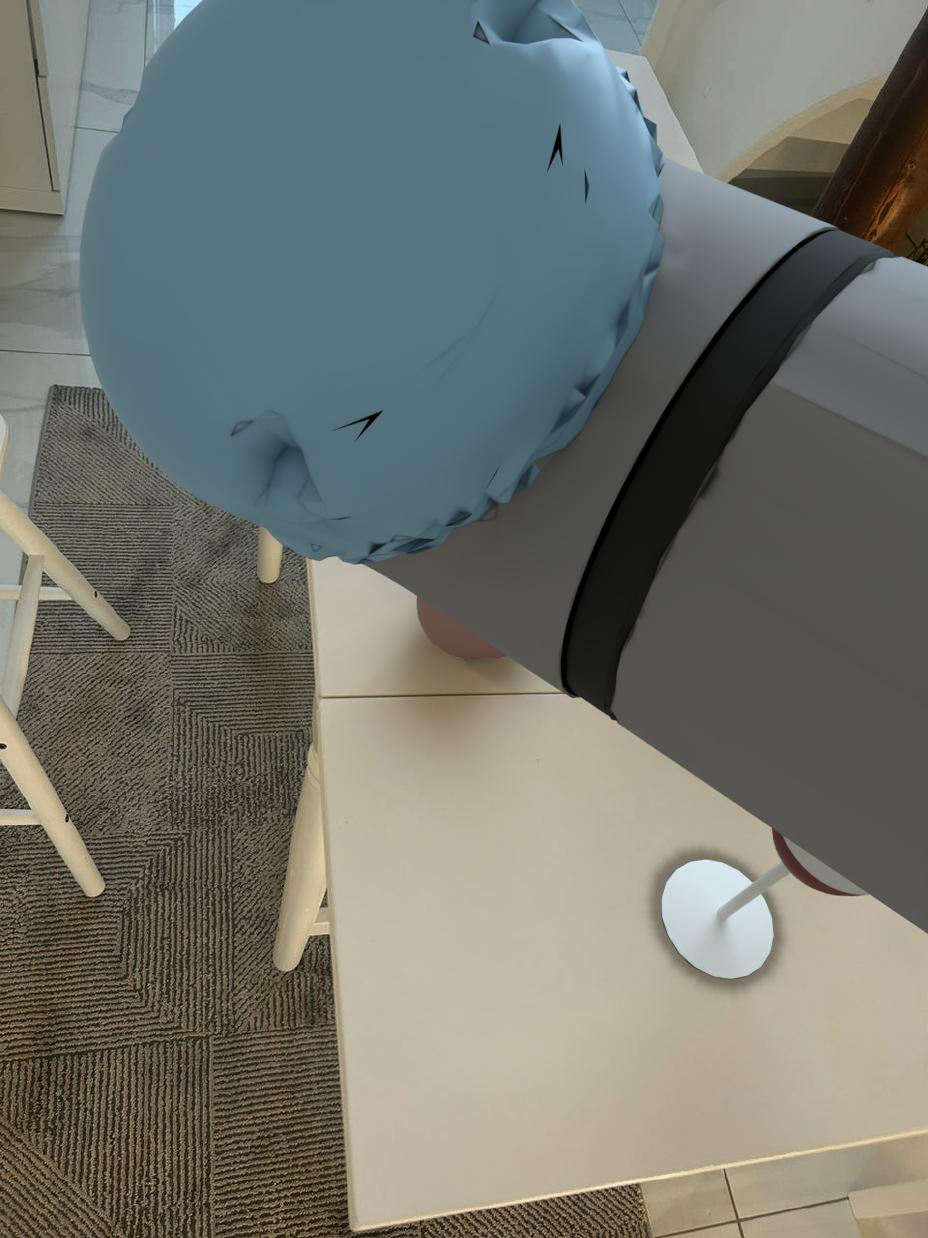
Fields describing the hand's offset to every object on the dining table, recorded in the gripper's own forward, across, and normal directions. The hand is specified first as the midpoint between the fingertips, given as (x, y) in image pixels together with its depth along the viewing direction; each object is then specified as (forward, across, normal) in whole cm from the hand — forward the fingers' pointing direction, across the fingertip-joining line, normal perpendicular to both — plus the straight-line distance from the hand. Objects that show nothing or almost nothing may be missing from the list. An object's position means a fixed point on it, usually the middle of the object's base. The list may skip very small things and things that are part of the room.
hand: (714, 584), depth 45 cm
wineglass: (+29, +12, -17) cm, 36 cm away
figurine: (+29, -16, -17) cm, 37 cm away
